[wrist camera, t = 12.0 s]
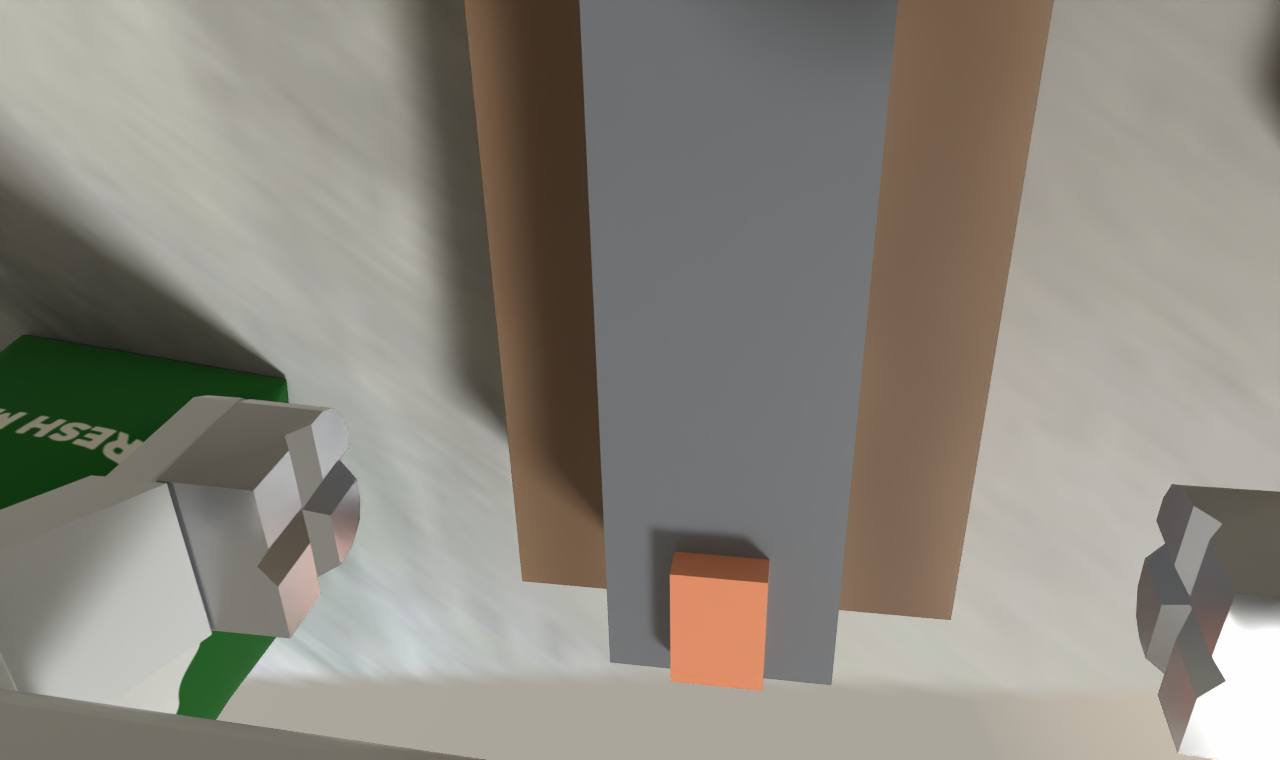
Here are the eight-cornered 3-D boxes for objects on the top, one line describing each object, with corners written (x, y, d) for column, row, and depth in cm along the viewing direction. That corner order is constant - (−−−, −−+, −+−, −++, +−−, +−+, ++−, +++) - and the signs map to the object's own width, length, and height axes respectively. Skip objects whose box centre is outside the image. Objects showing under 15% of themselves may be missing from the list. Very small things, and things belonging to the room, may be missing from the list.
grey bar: (908, -382, 15) (949, -478, 10) (830, 511, 23) (831, 711, 18) (637, -369, 15) (545, -452, 10) (652, 497, 23) (604, 686, 18)
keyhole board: (1123, -758, 14) (1206, -919, 11) (935, 517, 24) (950, 619, 21) (471, -692, 15) (381, -818, 12) (559, 488, 25) (522, 581, 22)
